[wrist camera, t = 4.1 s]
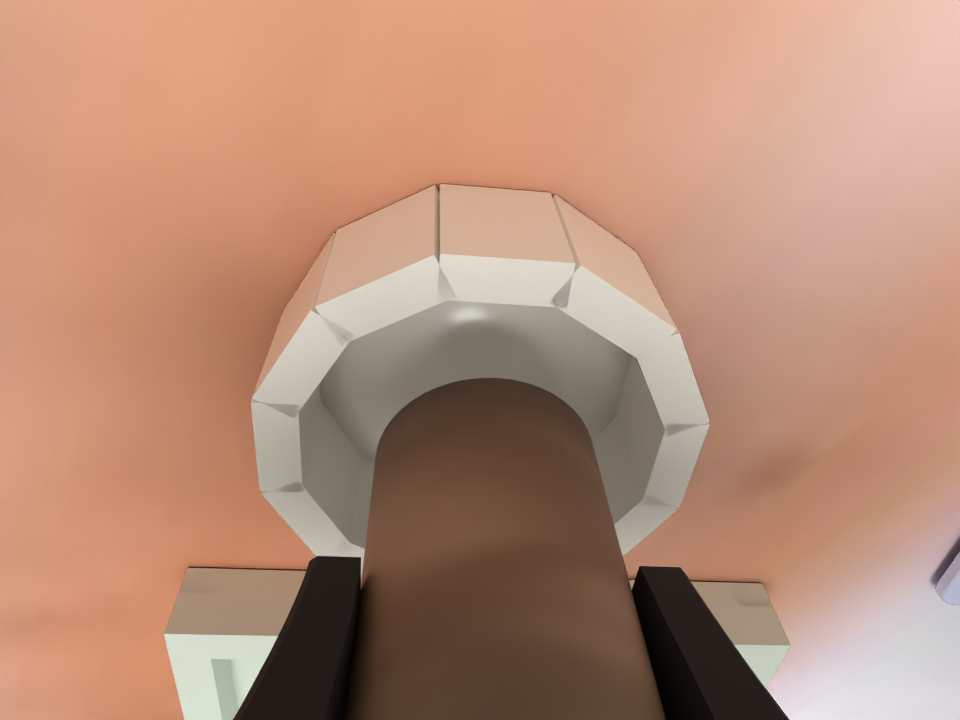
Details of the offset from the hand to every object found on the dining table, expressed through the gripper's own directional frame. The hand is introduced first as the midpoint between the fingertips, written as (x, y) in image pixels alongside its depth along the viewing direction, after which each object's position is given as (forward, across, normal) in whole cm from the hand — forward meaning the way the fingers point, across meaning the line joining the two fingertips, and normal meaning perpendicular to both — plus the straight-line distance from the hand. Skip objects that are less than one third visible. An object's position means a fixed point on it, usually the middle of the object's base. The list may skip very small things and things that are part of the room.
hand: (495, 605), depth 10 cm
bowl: (+6, 0, 0) cm, 6 cm away
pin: (+3, 0, 0) cm, 3 cm away
